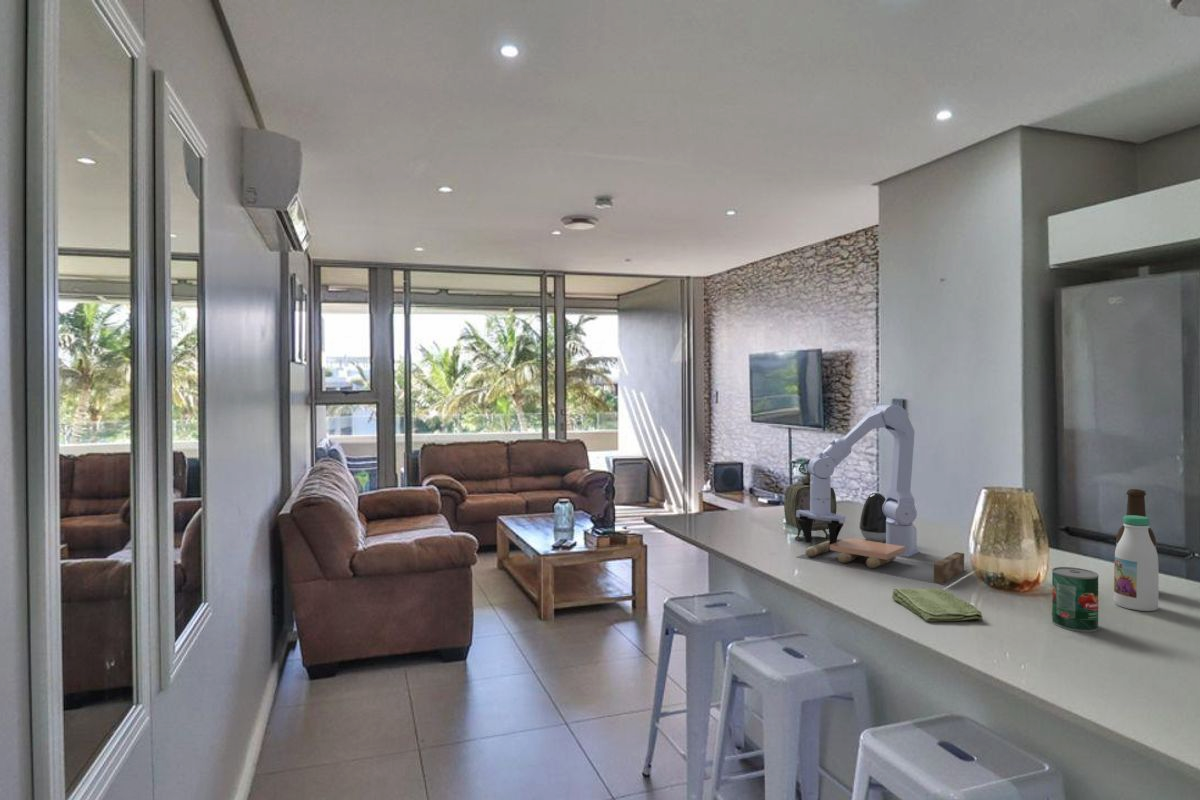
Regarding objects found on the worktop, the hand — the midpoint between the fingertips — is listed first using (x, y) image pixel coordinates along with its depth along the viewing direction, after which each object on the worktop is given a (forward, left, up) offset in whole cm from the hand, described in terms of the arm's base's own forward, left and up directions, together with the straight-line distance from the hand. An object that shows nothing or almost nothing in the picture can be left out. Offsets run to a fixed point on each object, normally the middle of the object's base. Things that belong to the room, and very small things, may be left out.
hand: (820, 544), depth 201 cm
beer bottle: (-19, +71, -3) cm, 74 cm away
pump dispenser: (-29, +4, -3) cm, 30 cm away
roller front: (0, +18, -3) cm, 18 cm away
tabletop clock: (-17, -13, -3) cm, 22 cm away
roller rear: (0, +10, -3) cm, 10 cm away
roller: (0, 0, -3) cm, 3 cm away
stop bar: (0, +36, -3) cm, 36 cm away
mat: (0, +17, -3) cm, 17 cm away
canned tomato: (+19, +66, -3) cm, 69 cm away
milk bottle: (-4, +73, -3) cm, 73 cm away
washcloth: (+28, +42, -4) cm, 51 cm away
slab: (0, +14, 0) cm, 14 cm away
